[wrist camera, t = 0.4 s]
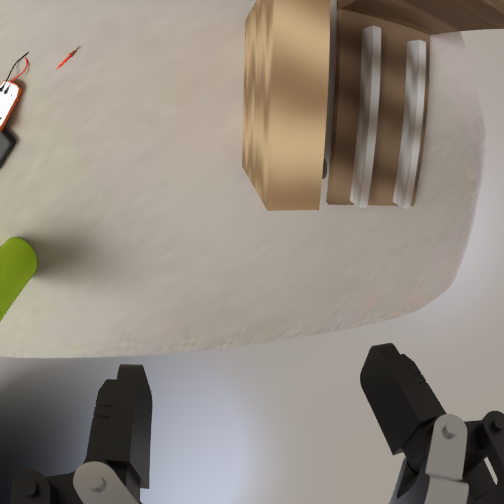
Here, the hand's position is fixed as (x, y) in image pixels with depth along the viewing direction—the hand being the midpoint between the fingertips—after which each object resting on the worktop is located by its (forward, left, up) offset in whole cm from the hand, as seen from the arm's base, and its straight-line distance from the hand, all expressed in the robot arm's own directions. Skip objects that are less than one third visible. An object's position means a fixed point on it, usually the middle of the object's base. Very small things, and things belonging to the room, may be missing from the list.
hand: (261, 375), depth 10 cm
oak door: (-10, +4, -26) cm, 28 cm away
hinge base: (-10, +18, -26) cm, 33 cm away
